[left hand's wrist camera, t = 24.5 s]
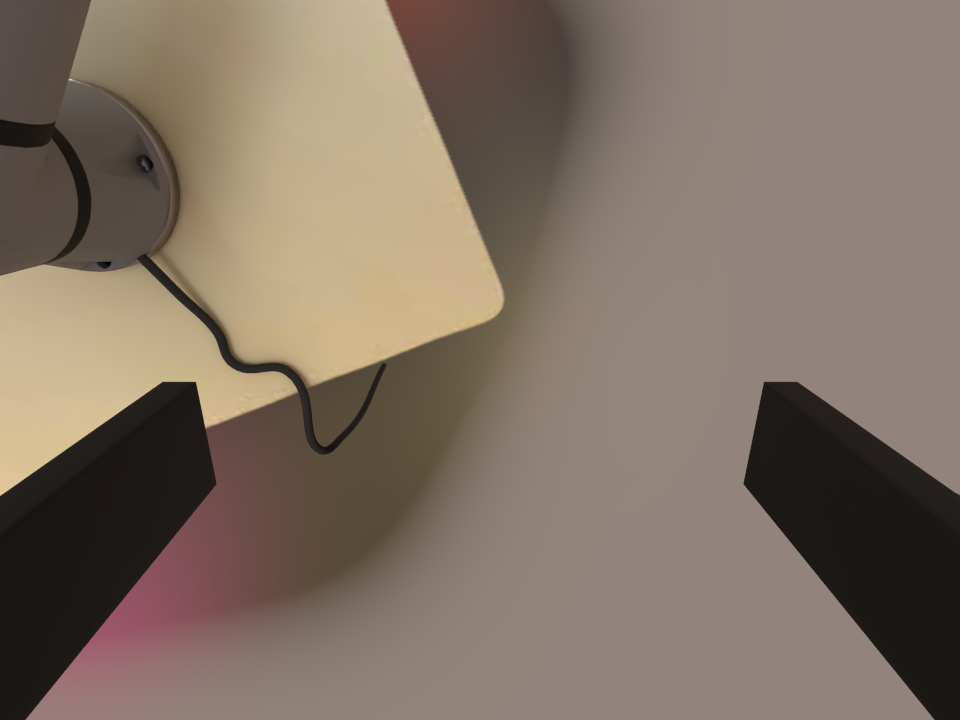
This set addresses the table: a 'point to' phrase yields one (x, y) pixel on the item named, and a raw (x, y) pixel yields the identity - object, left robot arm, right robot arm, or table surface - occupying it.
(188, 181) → the table surface
